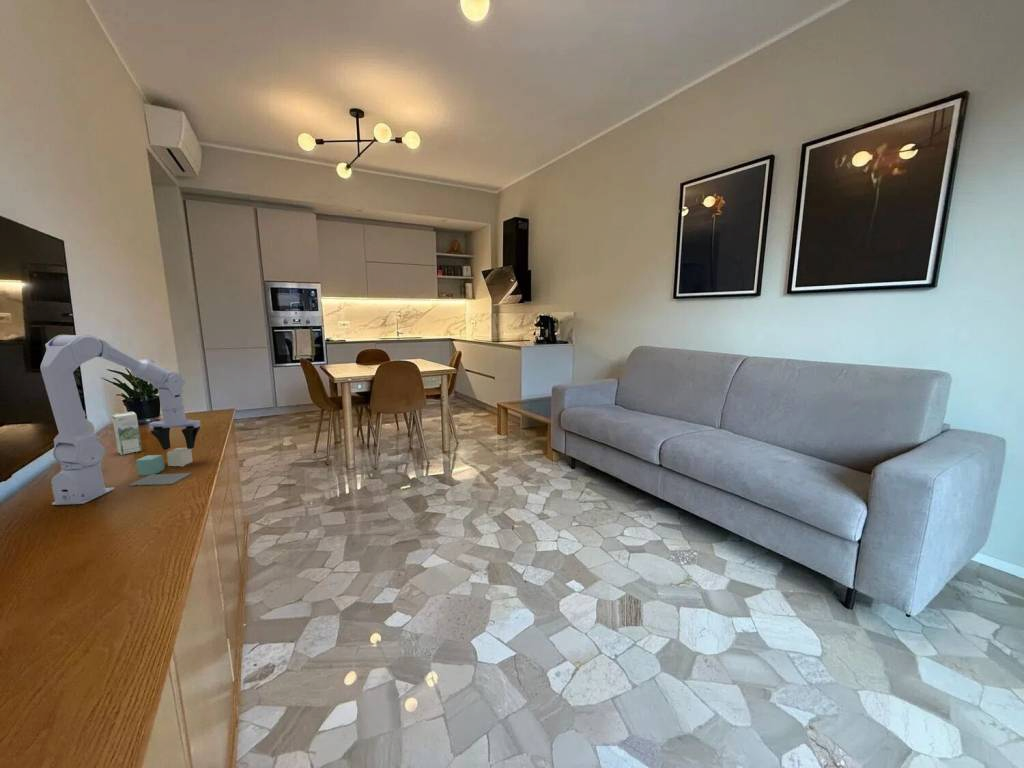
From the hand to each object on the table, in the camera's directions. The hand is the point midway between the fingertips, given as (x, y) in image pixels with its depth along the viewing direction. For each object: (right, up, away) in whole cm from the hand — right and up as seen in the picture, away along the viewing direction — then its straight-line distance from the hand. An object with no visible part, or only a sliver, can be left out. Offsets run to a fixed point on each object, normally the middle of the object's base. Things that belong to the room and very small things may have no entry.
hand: (178, 448), depth 137 cm
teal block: (-4, -7, -6) cm, 10 cm away
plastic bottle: (-24, -7, -7) cm, 25 cm away
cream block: (0, -5, +1) cm, 5 cm away
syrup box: (-29, -4, +14) cm, 32 cm away
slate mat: (+5, -8, -13) cm, 16 cm away
